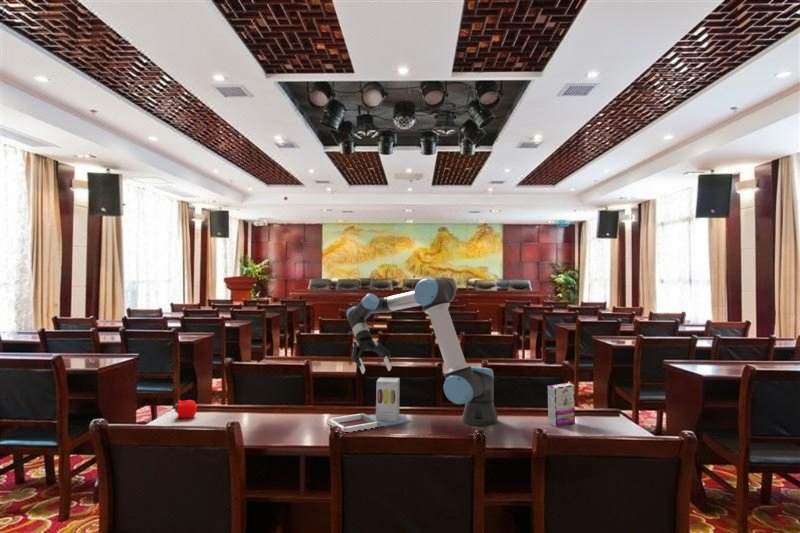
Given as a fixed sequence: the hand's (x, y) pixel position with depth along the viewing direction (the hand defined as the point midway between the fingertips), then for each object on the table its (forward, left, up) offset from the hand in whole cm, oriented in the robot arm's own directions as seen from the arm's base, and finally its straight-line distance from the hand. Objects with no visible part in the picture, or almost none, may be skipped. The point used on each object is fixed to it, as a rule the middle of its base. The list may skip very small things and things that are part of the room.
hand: (377, 370), depth 218 cm
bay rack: (-10, +9, -20) cm, 23 cm away
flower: (+38, +74, -20) cm, 86 cm away
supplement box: (-9, 0, -19) cm, 21 cm away
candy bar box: (-53, -60, -20) cm, 83 cm away
